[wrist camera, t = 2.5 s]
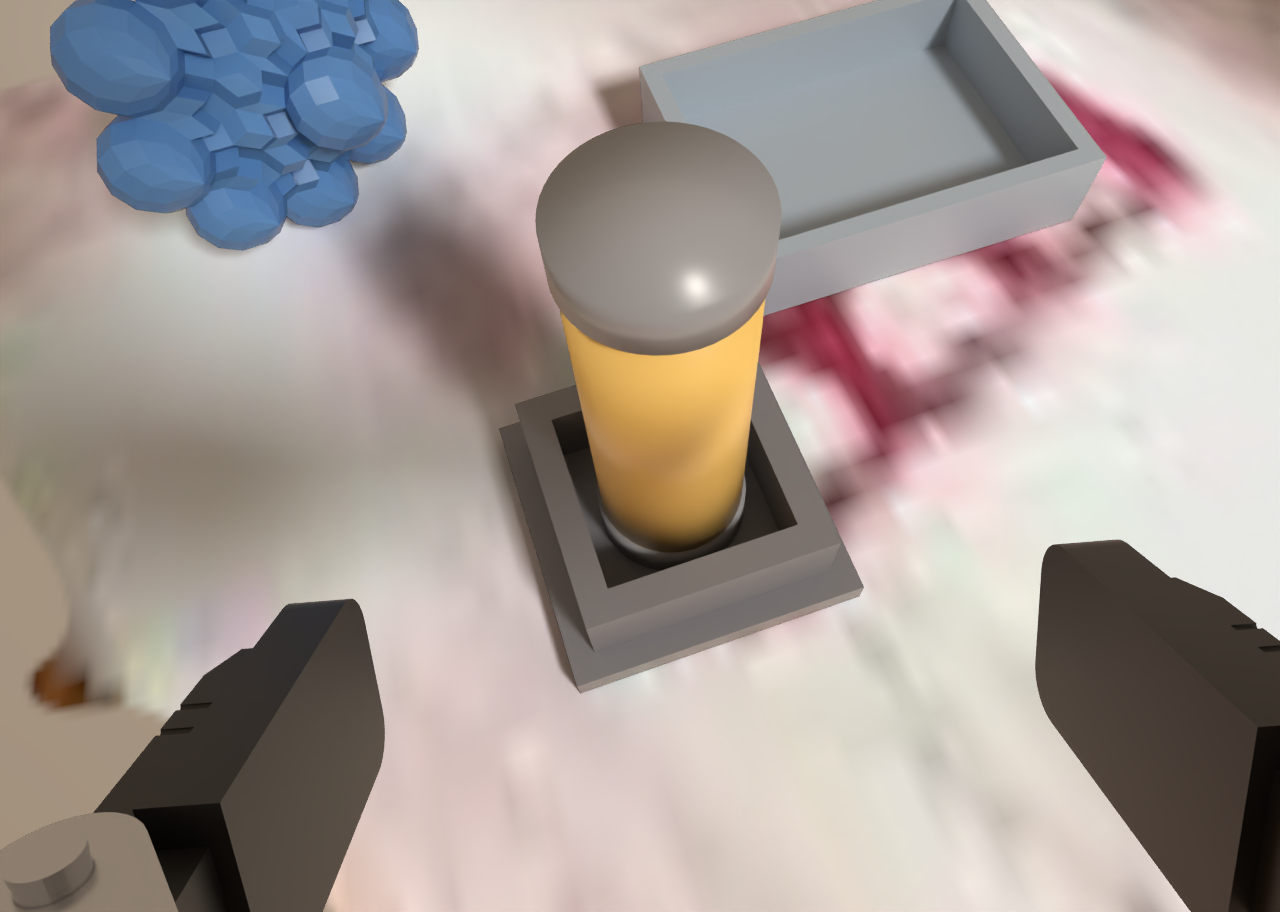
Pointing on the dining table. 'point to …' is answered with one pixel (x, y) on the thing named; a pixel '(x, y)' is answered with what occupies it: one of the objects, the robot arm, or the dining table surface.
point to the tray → (886, 136)
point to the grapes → (238, 104)
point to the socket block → (687, 593)
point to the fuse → (663, 324)
